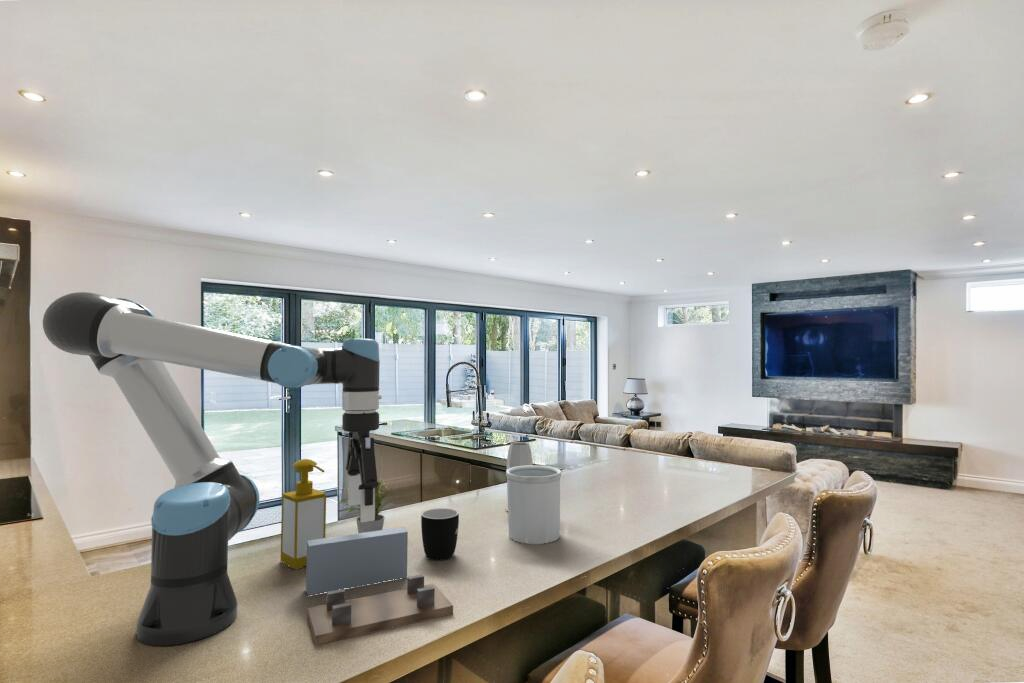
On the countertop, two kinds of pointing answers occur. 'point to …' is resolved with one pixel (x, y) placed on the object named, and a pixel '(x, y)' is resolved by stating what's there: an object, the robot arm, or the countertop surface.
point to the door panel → (356, 560)
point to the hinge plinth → (376, 611)
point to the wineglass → (519, 455)
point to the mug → (439, 532)
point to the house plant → (379, 518)
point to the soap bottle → (302, 517)
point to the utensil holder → (533, 503)
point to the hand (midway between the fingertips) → (360, 512)
